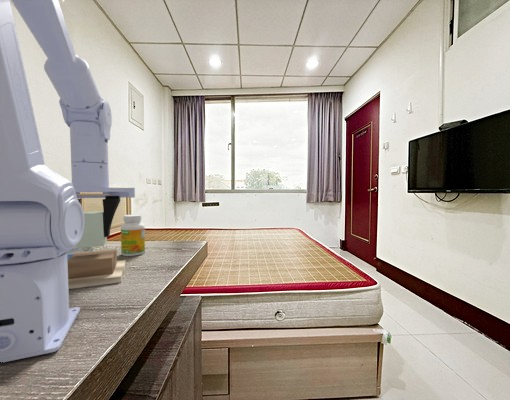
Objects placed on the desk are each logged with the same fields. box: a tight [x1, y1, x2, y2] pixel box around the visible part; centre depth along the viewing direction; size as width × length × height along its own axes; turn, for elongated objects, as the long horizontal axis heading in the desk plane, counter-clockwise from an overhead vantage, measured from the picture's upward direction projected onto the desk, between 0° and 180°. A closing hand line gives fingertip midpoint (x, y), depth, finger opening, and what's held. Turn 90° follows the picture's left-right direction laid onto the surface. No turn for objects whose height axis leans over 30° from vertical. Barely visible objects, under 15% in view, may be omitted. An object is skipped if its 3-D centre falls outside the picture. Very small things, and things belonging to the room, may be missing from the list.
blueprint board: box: [67, 248, 127, 290], centre depth 47 cm, size 11×10×4 cm
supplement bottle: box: [120, 214, 146, 257], centre depth 63 cm, size 5×5×10 cm
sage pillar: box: [77, 210, 108, 248], centre depth 47 cm, size 4×4×6 cm
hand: (92, 237), depth 47 cm, fingers closed on sage pillar, 4 cm apart
